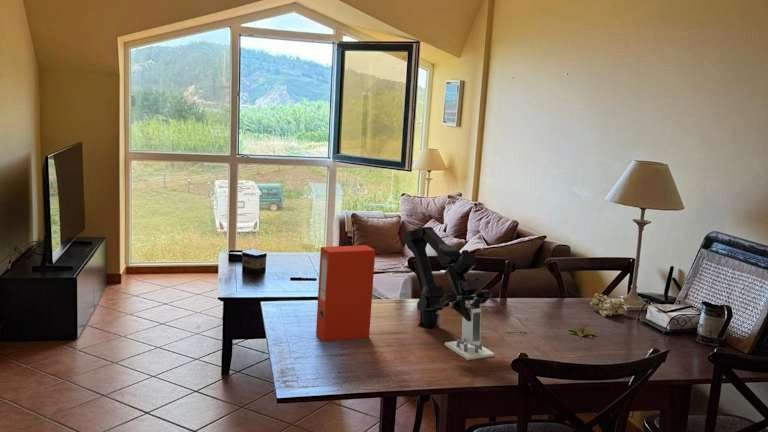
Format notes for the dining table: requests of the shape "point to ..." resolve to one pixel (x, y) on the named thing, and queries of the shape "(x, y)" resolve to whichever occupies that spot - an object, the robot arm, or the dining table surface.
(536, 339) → the dining table surface
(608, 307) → the mineral formation
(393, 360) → the dining table surface
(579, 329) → the olive green spiky piece
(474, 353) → the white pegged base
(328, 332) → the file binder
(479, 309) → the block
